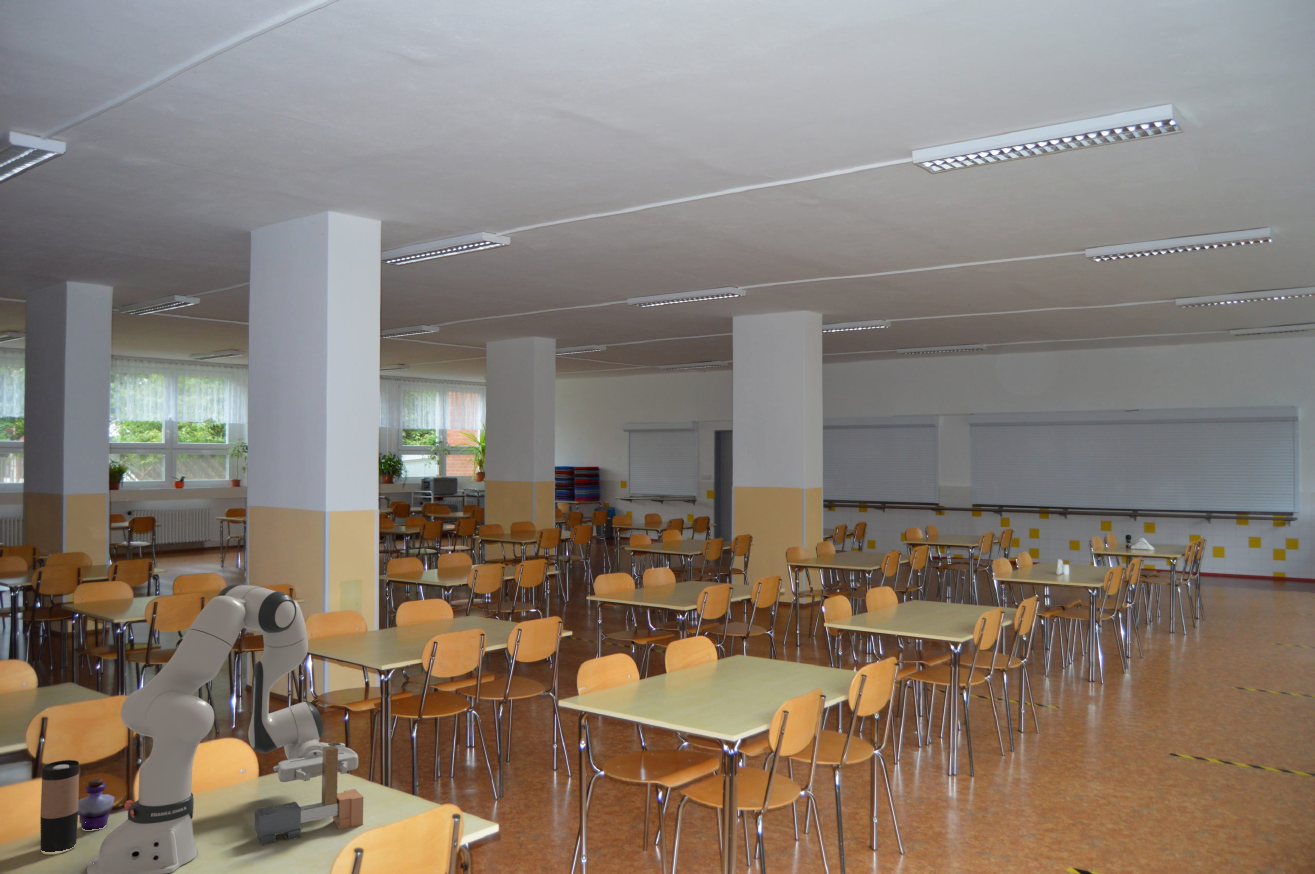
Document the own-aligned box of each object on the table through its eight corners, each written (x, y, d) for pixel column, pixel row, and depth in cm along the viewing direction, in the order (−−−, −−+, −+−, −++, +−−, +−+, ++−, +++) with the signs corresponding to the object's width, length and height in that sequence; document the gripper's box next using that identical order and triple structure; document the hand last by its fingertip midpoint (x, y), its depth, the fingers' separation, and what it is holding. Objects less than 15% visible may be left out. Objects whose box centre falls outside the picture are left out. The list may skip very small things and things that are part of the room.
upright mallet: (288, 825, 228) (289, 756, 229) (285, 821, 231) (286, 753, 231) (347, 813, 237) (348, 746, 237) (343, 809, 239) (345, 743, 240)
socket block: (340, 829, 234) (341, 801, 234) (332, 820, 239) (333, 792, 240) (362, 824, 237) (363, 796, 237) (354, 815, 243) (355, 788, 243)
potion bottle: (113, 818, 239) (114, 772, 240) (114, 829, 232) (116, 781, 232) (74, 825, 235) (75, 777, 235) (74, 836, 227) (75, 788, 228)
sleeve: (259, 846, 223) (260, 816, 223) (254, 837, 228) (254, 808, 228) (300, 837, 229) (301, 808, 229) (294, 829, 233) (295, 801, 234)
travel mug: (31, 853, 218) (33, 768, 218) (60, 840, 225) (63, 758, 226) (56, 857, 216) (58, 771, 216) (85, 844, 223) (87, 761, 224)
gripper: (271, 754, 245) (284, 769, 233) (349, 741, 256) (364, 755, 245) (271, 778, 245) (283, 794, 233) (349, 764, 256) (364, 778, 245)
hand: (325, 774), depth 239 cm, fingers open, 8 cm apart
